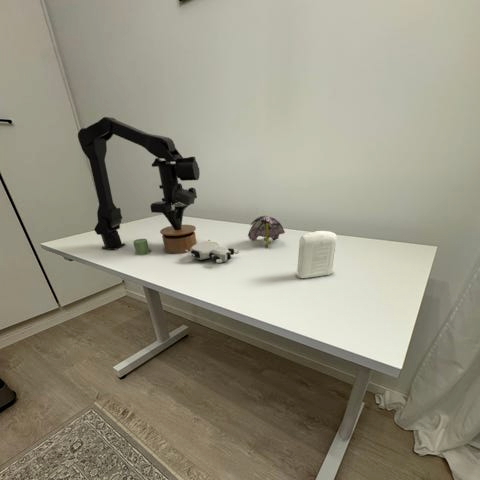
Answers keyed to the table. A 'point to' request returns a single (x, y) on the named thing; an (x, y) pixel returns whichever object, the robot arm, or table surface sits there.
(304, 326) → the table surface
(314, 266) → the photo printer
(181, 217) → the robot arm
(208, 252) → the robot toy
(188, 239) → the brown shallow round container
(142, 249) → the candle
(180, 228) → the wooden lid
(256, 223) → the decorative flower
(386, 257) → the table surface
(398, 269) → the table surface
